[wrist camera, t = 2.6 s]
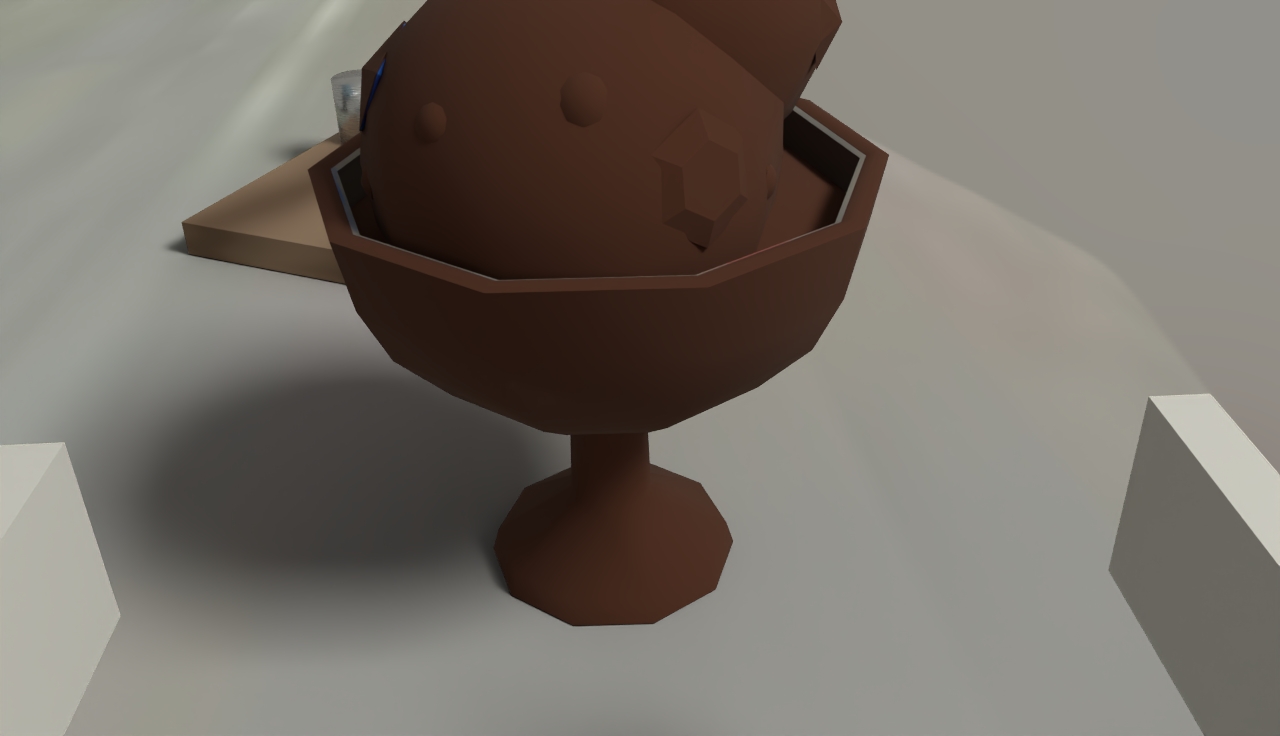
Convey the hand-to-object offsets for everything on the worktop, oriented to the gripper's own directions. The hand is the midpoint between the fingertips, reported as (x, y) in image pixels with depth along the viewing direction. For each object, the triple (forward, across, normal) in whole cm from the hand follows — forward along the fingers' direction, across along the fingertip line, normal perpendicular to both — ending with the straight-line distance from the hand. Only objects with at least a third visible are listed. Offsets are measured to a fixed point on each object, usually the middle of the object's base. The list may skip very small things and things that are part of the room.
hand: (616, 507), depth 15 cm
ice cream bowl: (+10, 0, -9) cm, 13 cm away
